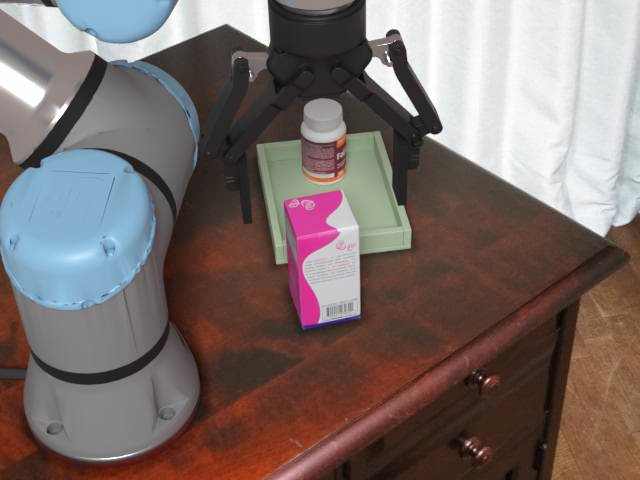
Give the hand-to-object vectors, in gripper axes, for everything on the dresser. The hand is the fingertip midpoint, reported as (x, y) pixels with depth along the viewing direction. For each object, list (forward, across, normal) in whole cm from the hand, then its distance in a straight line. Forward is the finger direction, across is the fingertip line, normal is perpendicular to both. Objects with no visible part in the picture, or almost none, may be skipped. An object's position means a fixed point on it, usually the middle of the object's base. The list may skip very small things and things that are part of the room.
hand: (323, 205), depth 101 cm
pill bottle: (+12, -3, -19) cm, 23 cm away
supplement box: (+13, 0, 0) cm, 13 cm away
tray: (+12, -3, -15) cm, 19 cm away
